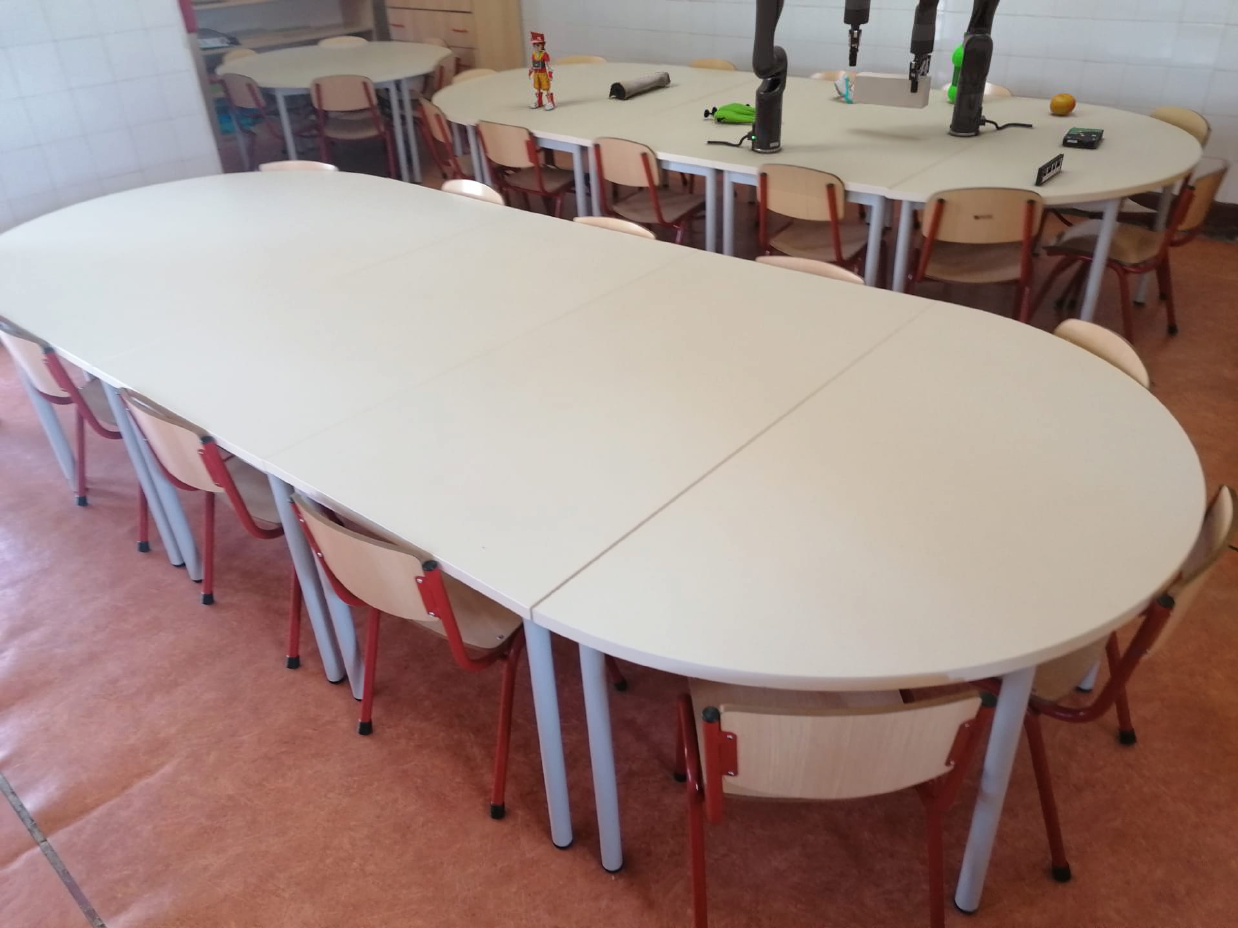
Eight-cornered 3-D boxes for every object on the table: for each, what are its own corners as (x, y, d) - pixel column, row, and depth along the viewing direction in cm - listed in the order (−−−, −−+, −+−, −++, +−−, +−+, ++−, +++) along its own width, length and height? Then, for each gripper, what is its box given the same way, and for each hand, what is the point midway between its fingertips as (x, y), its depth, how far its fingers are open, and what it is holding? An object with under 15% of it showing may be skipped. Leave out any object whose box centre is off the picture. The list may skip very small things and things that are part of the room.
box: (928, 105, 312) (931, 76, 307) (921, 109, 308) (925, 80, 303) (859, 99, 325) (861, 71, 320) (852, 103, 321) (854, 75, 316)
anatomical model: (829, 74, 368) (853, 67, 367) (832, 100, 374) (856, 93, 373) (840, 82, 356) (864, 75, 355) (842, 109, 362) (867, 102, 361)
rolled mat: (651, 76, 408) (662, 61, 399) (662, 93, 408) (674, 79, 400) (605, 92, 391) (616, 77, 383) (617, 110, 391) (628, 95, 383)
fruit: (1046, 106, 329) (1061, 86, 326) (1044, 110, 336) (1059, 90, 333) (1065, 119, 327) (1081, 99, 324) (1063, 122, 335) (1078, 102, 332)
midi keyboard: (1039, 185, 269) (1043, 168, 266) (1035, 184, 270) (1038, 168, 267) (1060, 170, 279) (1064, 154, 277) (1056, 169, 280) (1060, 153, 277)
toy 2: (694, 121, 346) (765, 134, 333) (695, 107, 343) (767, 120, 330) (725, 110, 366) (794, 122, 353) (727, 97, 363) (796, 108, 351)
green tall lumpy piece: (978, 101, 353) (990, 32, 339) (960, 106, 348) (971, 36, 334) (957, 97, 360) (967, 29, 346) (939, 102, 355) (949, 33, 341)
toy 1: (525, 109, 381) (517, 32, 364) (534, 104, 388) (527, 28, 371) (550, 110, 377) (543, 32, 360) (559, 105, 384) (553, 28, 367)
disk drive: (1095, 149, 295) (1102, 137, 305) (1097, 141, 294) (1104, 129, 304) (1061, 146, 300) (1069, 134, 310) (1063, 138, 298) (1071, 126, 309)
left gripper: (844, 3, 278) (840, 59, 287) (844, 10, 267) (840, 68, 276) (869, 2, 277) (864, 58, 286) (870, 9, 265) (865, 68, 275)
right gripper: (926, 42, 293) (920, 96, 303) (941, 34, 302) (935, 86, 312) (904, 41, 297) (898, 94, 306) (919, 33, 306) (914, 85, 316)
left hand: (852, 63), depth 281 cm, fingers open, 8 cm apart
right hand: (917, 90), depth 309 cm, fingers closed on box, 6 cm apart
